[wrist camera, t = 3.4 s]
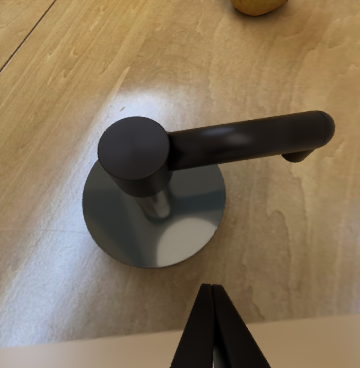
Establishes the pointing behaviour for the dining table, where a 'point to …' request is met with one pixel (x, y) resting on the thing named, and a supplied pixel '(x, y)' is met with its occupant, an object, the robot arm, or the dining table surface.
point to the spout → (203, 146)
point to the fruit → (257, 6)
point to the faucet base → (154, 216)
